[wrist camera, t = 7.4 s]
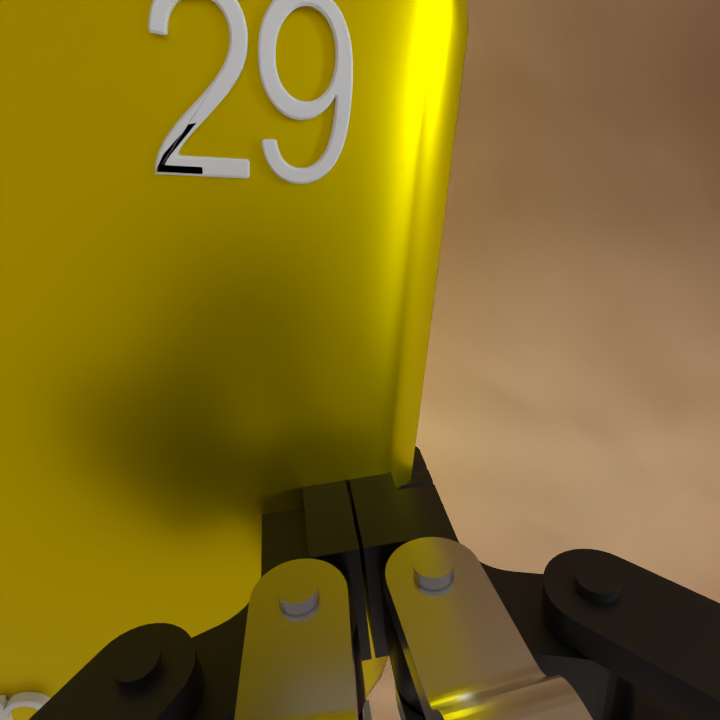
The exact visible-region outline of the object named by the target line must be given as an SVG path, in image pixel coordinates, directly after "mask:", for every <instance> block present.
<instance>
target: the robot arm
mask: <svg viewBox="0 0 720 720" xmlns="http://www.w3.org/2000/svg"><path fill="white" fill-rule="evenodd" d="M349 483H350V492H351V501H352V509H353V515H352V510H351V505H350V500H349V495H348V490H347V485H346V480H343V481H337V482H331V483H325V484H319V485H312V486H306V487H303V497H304V507H303V508H297V509H291V510H285V511H279V512H273V513H267V514H262V553H261V579H260V580H259V581H258V582H257V584H256V585H255V587H254V588H253V591H252V593H251V596H250V600H249V603H248V604H247V605H246V606H245V607H244V608H243V609H242V610H241V611H240V612H239V613H238V614H236V615H235V616H233V617H232V618H230V619H229V620H227V621H226V622H224V623H222V624H220V625H218V626H216V627H214V628H211V629H209V630H207V631H205V632H203V633H201V634H199V635H197V636H194V637H192V638H191V637H190V635H189V634H188V633H187V632H186V631H185V630H183V629H182V628H180V627H178V626H176V625H173V624H168V623H152V624H146V625H142V626H139V627H136V628H134V629H131V630H129V631H127V632H125V633H123V634H121V635H120V636H118V637H117V638H115V639H114V640H112V641H111V642H110V643H109V644H108V645H106V646H105V647H104V648H103V649H102V650H101V651H100V652H99V653H98V654H97V655H96V656H95V657H93V658H92V659H91V660H90V661H89V662H88V663H87V664H86V665H85V666H84V667H83V668H82V669H81V670H80V671H79V672H78V673H77V674H76V675H75V676H74V677H73V678H72V679H70V680H69V681H68V682H67V683H66V684H65V685H64V686H63V687H62V688H61V689H60V690H59V691H58V692H57V693H56V694H55V695H54V696H53V697H52V698H51V699H50V700H49V701H47V702H46V703H45V704H44V705H43V706H42V707H41V708H40V709H39V710H38V711H37V712H36V713H35V714H34V715H33V716H32V717H31V718H30V719H29V720H364V710H363V706H364V703H365V683H364V675H363V667H362V661H365V660H370V659H372V656H371V648H370V639H369V630H368V621H369V627H370V632H371V637H372V642H373V647H374V653H375V658H379V657H384V656H390V661H391V665H392V670H393V674H394V679H395V690H396V701H397V706H398V710H399V713H400V716H401V720H720V603H718V602H716V601H713V600H711V599H709V598H707V597H705V596H702V595H700V594H698V593H696V592H694V591H692V590H689V589H687V588H685V587H683V586H681V585H679V584H676V583H674V582H672V581H670V580H668V579H665V578H663V577H661V576H659V575H657V574H655V573H652V572H650V571H648V570H646V569H644V568H642V567H639V566H637V565H635V564H633V563H631V562H629V561H626V560H624V559H622V558H620V557H618V556H615V555H613V554H610V553H607V552H603V551H599V550H593V549H574V550H570V551H566V552H563V553H561V554H559V555H557V556H556V557H554V558H553V559H552V560H551V561H550V562H549V563H548V565H547V566H546V568H545V571H544V574H534V573H523V572H512V571H505V570H500V569H496V568H493V567H490V566H488V565H485V564H483V563H481V562H480V561H479V560H478V559H477V557H476V556H475V554H474V553H473V552H472V551H471V550H470V549H468V548H467V547H465V546H464V545H462V544H460V543H459V541H458V539H457V537H456V535H455V532H454V530H453V528H452V525H451V523H450V521H449V518H448V516H447V513H446V511H445V509H444V506H443V504H442V502H441V499H440V497H439V495H438V492H437V490H436V488H435V485H433V481H432V478H431V476H430V474H429V471H428V470H427V467H426V464H425V462H424V459H423V457H422V455H421V452H420V450H419V449H418V448H417V447H416V446H415V452H414V459H413V467H412V475H411V480H409V481H408V482H407V483H406V484H404V485H402V486H401V487H400V488H399V489H398V490H397V489H396V486H395V483H394V480H393V477H392V474H391V472H389V473H387V474H380V475H373V476H367V477H361V478H355V479H349ZM353 518H354V520H353ZM366 611H367V612H366ZM367 616H368V621H367Z"/></svg>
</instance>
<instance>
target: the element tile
mask: <svg viewBox="0 0 720 720" xmlns="http://www.w3.org/2000/svg"><path fill="white" fill-rule="evenodd" d="M467 35H468V24H467V8H466V0H0V720H29V719H30V718H31V717H32V716H33V715H34V714H35V713H36V712H37V711H38V710H39V709H40V708H41V707H42V706H43V705H44V704H45V703H46V702H47V701H49V700H50V699H51V698H52V697H53V696H54V695H55V694H56V693H57V692H58V691H59V690H60V689H61V688H62V687H63V686H64V685H65V684H66V683H67V682H68V681H69V680H70V679H72V678H73V677H74V676H75V675H76V674H77V673H78V672H79V671H80V670H81V669H82V668H83V667H84V666H85V665H86V664H87V663H88V662H89V661H90V660H91V659H92V658H93V657H95V656H96V655H97V654H98V653H99V652H100V651H101V650H102V649H103V648H104V647H105V646H106V645H108V644H109V643H110V642H111V641H112V640H114V639H115V638H117V637H118V636H120V635H121V634H123V633H125V632H127V631H129V630H131V629H134V628H136V627H139V626H142V625H146V624H152V623H168V624H173V625H176V626H178V627H180V628H182V629H183V630H185V631H186V632H187V633H188V634H189V635H190V637H191V638H192V637H194V636H197V635H199V634H201V633H203V632H205V631H207V630H209V629H211V628H214V627H216V626H218V625H220V624H222V623H224V622H226V621H227V620H229V619H230V618H232V617H233V616H235V615H236V614H238V613H239V612H240V611H241V610H242V609H243V608H244V607H245V606H246V605H247V604H248V603H249V600H250V596H251V593H252V591H253V588H254V587H255V585H256V584H257V582H258V581H259V580H260V579H261V553H262V514H267V513H273V512H279V511H285V510H291V509H297V508H303V507H304V497H303V487H306V486H312V485H319V484H325V483H331V482H337V481H343V480H346V485H347V490H348V495H349V500H350V505H351V510H352V515H353V509H352V501H351V492H350V483H349V479H355V478H361V477H367V476H373V475H380V474H387V473H389V472H391V474H392V477H393V480H394V483H395V486H396V489H397V490H398V489H399V488H400V487H401V486H402V485H404V484H406V483H407V482H408V481H409V480H411V475H412V467H413V459H414V452H415V444H416V436H417V428H418V420H419V412H420V404H421V397H422V389H423V381H424V373H425V365H426V357H427V349H428V341H429V334H430V326H431V318H432V310H433V302H434V294H435V286H436V279H437V271H438V263H439V255H440V247H441V239H442V231H443V224H444V216H445V208H446V200H447V192H448V184H449V176H450V168H451V161H452V153H453V145H454V137H455V129H456V121H457V113H458V106H459V98H460V90H461V82H462V74H463V66H464V58H465V50H466V43H467ZM353 520H354V518H353ZM366 612H367V611H366ZM367 621H368V616H367ZM368 630H369V639H370V648H371V656H372V659H370V660H365V661H362V667H363V675H364V683H365V699H366V698H367V696H368V695H369V693H370V692H371V691H372V689H373V688H374V686H375V685H376V683H377V682H378V681H379V679H380V678H381V676H382V673H383V670H384V668H385V665H386V662H387V659H388V656H384V657H379V658H375V653H374V647H373V642H372V637H371V632H370V627H369V621H368Z"/></svg>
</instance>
